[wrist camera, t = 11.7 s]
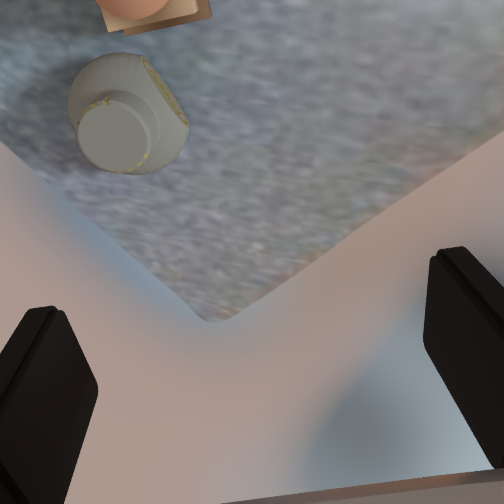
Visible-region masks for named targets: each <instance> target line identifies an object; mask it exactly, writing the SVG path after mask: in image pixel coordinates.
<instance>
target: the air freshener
mask: <svg viewBox="0 0 504 504" xmlns="http://www.w3.org/2000/svg"><path fill="white" fill-rule="evenodd" d="M67 111H68V116H69V118H70V120H71V122H72V124H73V126H74V128H75V129H76V139H77V143H78V146H79V148H80V150H81V152H82V153H83V155H84V156H85V157H86V158H87V159H88V160H89V161H90V162H91V163H92V164H93V165H94V166H96V167H98V168H99V169H101V170H104V171H106V172H111V173H122V174H127V175H144V174H149V173H153V172H155V171H158V170H160V169H162V168H164V167H165V166H167V165H168V164H170V163H171V162H172V161H173V160H174V159H175V158H176V157H177V156H178V154H179V153H180V152H181V150H182V148H183V146H184V144H185V142H186V139H187V136H188V132H189V123H188V120H187V118H186V116H185V114H184V112H183V110H182V109H181V107H180V105H179V103H178V102H177V100H176V98H175V97H174V95H173V94H172V92H171V91H170V89H169V88H168V86H167V85H166V83H165V82H164V81H163V79H162V78H161V76H160V75H159V74H158V72H157V71H156V70H155V69H154V67H153V66H152V65H151V64H150V63H149V62H148V61H147V59H146V58H144V57H143V56H140V55H137V54H132V53H111V54H107V55H103V56H101V57H99V58H96V59H94V60H92V61H91V62H90V63H88V64H87V65H86V66H84V68H83V69H82V70H81V71H80V72H79V73H78V74H77V76H76V78H75V79H74V81H73V83H72V85H71V88H70V91H69V96H68V102H67Z"/></svg>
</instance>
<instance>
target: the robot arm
mask: <svg viewBox="0 0 504 504" xmlns="http://www.w3.org/2000/svg"><path fill="white" fill-rule="evenodd" d="M423 342H424V346H425V349H426V351H427V353H428V355H429V357H430V358H431V360H432V362H433V364H434V365H435V367H436V369H437V371H438V373H439V374H440V376H441V377H442V379H443V381H444V383H445V385H446V386H447V388H448V390H449V392H450V394H451V395H452V397H453V399H454V401H455V402H456V404H457V406H458V408H459V409H460V411H461V413H462V414H463V416H464V418H465V420H466V422H467V424H468V425H469V427H470V429H471V431H472V432H473V434H474V436H475V437H476V439H477V441H478V443H479V445H480V446H481V448H482V450H483V452H484V453H485V455H486V457H487V459H488V460H489V462H490V464H491V465H492V466H493V468H494V469H492V470H483V471H475V472H465V473H456V474H447V475H438V476H430V477H422V478H414V479H407V480H399V481H391V482H383V483H375V484H368V485H359V486H352V487H344V488H336V489H328V490H322V491H313V492H305V493H298V494H290V495H283V496H275V497H268V498H260V499H252V500H245V501H237V502H230V503H223V504H504V287H503V286H502V285H501V284H500V283H499V282H498V281H497V280H496V279H495V278H494V277H493V276H492V275H491V274H490V273H489V272H488V271H487V270H486V268H485V267H484V266H483V265H482V264H481V263H480V262H479V261H478V260H477V259H476V258H475V257H474V256H473V255H472V254H471V253H470V252H469V251H468V250H467V249H466V248H465V247H463V246H460V247H453V248H446V249H440V250H438V252H437V254H436V256H432V257H431V259H430V264H429V275H428V286H427V297H426V308H425V321H424V332H423ZM97 396H98V385H97V382H96V380H95V377H94V375H93V373H92V371H91V369H90V367H89V364H88V362H87V360H86V358H85V356H84V353H83V351H82V349H81V347H80V345H79V343H78V340H77V338H76V336H75V334H74V332H73V330H72V327H71V326H70V323H69V321H68V319H67V316H66V315H65V313H64V312H63V311H62V310H58V309H57V308H56V307H55V306H46V307H39V308H32V309H29V310H28V311H27V312H26V313H25V315H24V317H23V318H22V320H21V321H20V323H19V325H18V326H17V328H16V329H15V331H14V333H13V334H12V336H11V337H10V339H9V341H8V342H7V344H6V345H5V347H4V349H3V350H2V352H1V353H0V504H64V501H65V498H66V495H67V492H68V489H69V486H70V482H71V479H72V476H73V473H74V470H75V466H76V463H77V460H78V457H79V454H80V451H81V448H82V444H83V441H84V438H85V435H86V432H87V429H88V425H89V422H90V419H91V416H92V413H93V409H94V406H95V403H96V400H97Z"/></svg>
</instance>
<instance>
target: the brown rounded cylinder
mask: <svg viewBox="0 0 504 504" xmlns="http://www.w3.org/2000/svg"><path fill="white" fill-rule="evenodd" d="M95 1H96V2H97V3H98V4H99V5H100V6H101V7H102V8H103V9H104V10H105V11H107V12H109V13H110V14H112V15H114V16H116V17H119V18H122V19H129V20H135V19H141V18H144V17H147V16H150V15H153V14H156V13H158V12H160V11H162V10H163V9H164V8H166V7H167V6H168V4H169V3H170V2H171V0H95Z"/></svg>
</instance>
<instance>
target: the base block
mask: <svg viewBox="0 0 504 504" xmlns="http://www.w3.org/2000/svg"><path fill="white" fill-rule="evenodd" d="M197 3H198V7H199V10H198V11H197V12H196V13H194V14H190V15H185V16H181V17H176V18H172V19H167V20H163V21H158V22H154V23H149V24H145V25H140V26H135V27H131V28H126V29H123V31H124V34H125V36H129V35H133V34H138V33H143V32H147V31H152V30H157V29H161V28H166V27H171V26H175V25H180V24H185V23H189V22H194V21H199V20H203V19H208V18H210V17H211V16H212V14H211V9H210V4H209V0H197Z"/></svg>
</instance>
